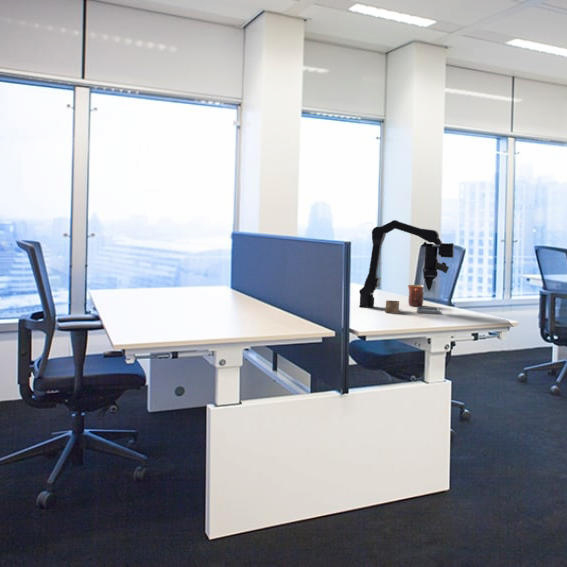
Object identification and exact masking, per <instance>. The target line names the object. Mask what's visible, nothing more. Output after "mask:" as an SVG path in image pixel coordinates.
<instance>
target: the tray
mask: <svg viewBox="0 0 567 567" xmlns="http://www.w3.org/2000/svg"><path fill="white" fill-rule="evenodd" d="M416 313H417V314H428V315H429V314H431V315H440V308H439V307H430V306H429V307H428V306H426V307H425V306H421V307H416Z"/></svg>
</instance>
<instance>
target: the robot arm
mask: <svg viewBox="0 0 567 567" xmlns="http://www.w3.org/2000/svg"><path fill="white" fill-rule="evenodd" d="M393 230H398V231H401V232H403V233H408V234H410V235H414V236H417V237H419V238H421V239H422V240H424V241H423V243H422V244H421V245H420V247H422V248H424V259H423V260H424V262H423V263H424V264H423V268H422V273H423V274H422V275H423V279H425V282H426V286H427V289H428V290H430V289H431V286H432V282H433V280H436V278H437V277H438V273H439V272H438V271H441V272H443V273H444V274H447V273H448V270H449V269H450V266H448V265H447V263H446V262H444V261H443V262H441V263H440V262H439V260H438V256H440V258H448V259H451V258H452V259H453V258H454V255H455V248H454V247H455V246H454V245H455V244H454V243H452V242H451V243H443V242H442V240H441V238H440V234H439V232H438V231H437V230H435V229H428V228H419V227H417V226H414V225H411V224H407V223H405V222H401V221H399V220H397V219H393V220H391V221H390V222H388V223H386V224H383V225H382V226H375V227H374V228H372V230H371V240H372V249H371V257H370V262H369V268H368V274H367V276H366V278H365V282H364V284H363V287H362V288H360V289H359V306H358V307H360V308H373V307H374V306H375V296H374V293H375V291H376V290H378V288H379V287H380V285H381V284H380V282H381V277H379V276H378V271H379V265H380V259H381V258H380V257H381V250H382V246H383V242H384V241H385V238H386V235H387V234H388V233H390V232H391V231H393Z"/></svg>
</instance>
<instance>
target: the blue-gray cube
mask: <svg viewBox="0 0 567 567" xmlns="http://www.w3.org/2000/svg"><path fill="white" fill-rule="evenodd" d="M422 282H423V284H422V286H423V292H424V293H432V294H433V293H434V294H435V293H436V285H437V283H436V282H437V280H436V279H433V282H432V286H431V289H430V290H428V289H427V286H426V282H425V279H424V278H423V281H422Z"/></svg>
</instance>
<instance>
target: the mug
mask: <svg viewBox="0 0 567 567" xmlns="http://www.w3.org/2000/svg"><path fill="white" fill-rule="evenodd" d="M407 288H408V300H407V301H408V302H407V303H408V305H409V307H415V308H417V307H423V304H424V293H425V292H423V284H409V285H407Z"/></svg>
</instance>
